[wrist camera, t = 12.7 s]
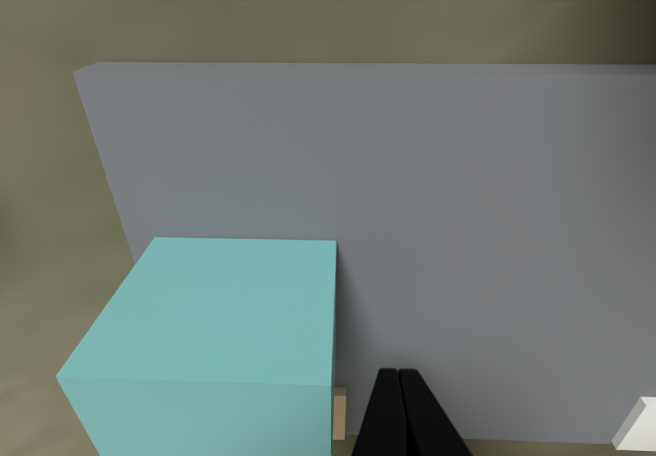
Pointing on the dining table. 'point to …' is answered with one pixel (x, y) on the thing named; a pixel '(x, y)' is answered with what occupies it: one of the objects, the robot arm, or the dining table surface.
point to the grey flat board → (424, 219)
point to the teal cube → (213, 352)
